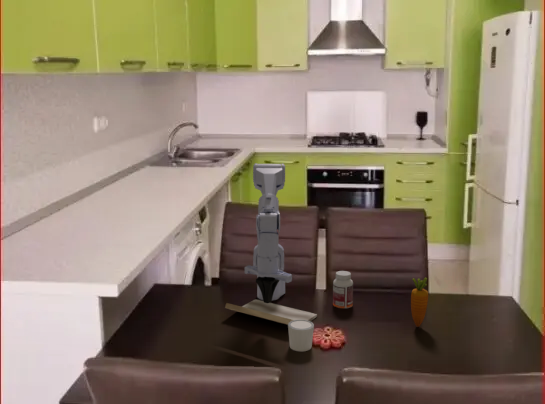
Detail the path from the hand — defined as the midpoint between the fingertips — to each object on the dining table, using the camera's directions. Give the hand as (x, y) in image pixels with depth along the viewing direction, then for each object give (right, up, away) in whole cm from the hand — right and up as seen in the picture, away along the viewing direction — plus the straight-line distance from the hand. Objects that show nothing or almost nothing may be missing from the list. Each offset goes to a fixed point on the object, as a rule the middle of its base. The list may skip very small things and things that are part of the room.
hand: (267, 301), depth 171 cm
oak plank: (-1, -5, +5) cm, 7 cm away
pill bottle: (+23, -5, +19) cm, 30 cm away
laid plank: (+3, -6, +12) cm, 14 cm away
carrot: (+43, -8, +4) cm, 44 cm away
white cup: (+9, -11, -10) cm, 17 cm away
